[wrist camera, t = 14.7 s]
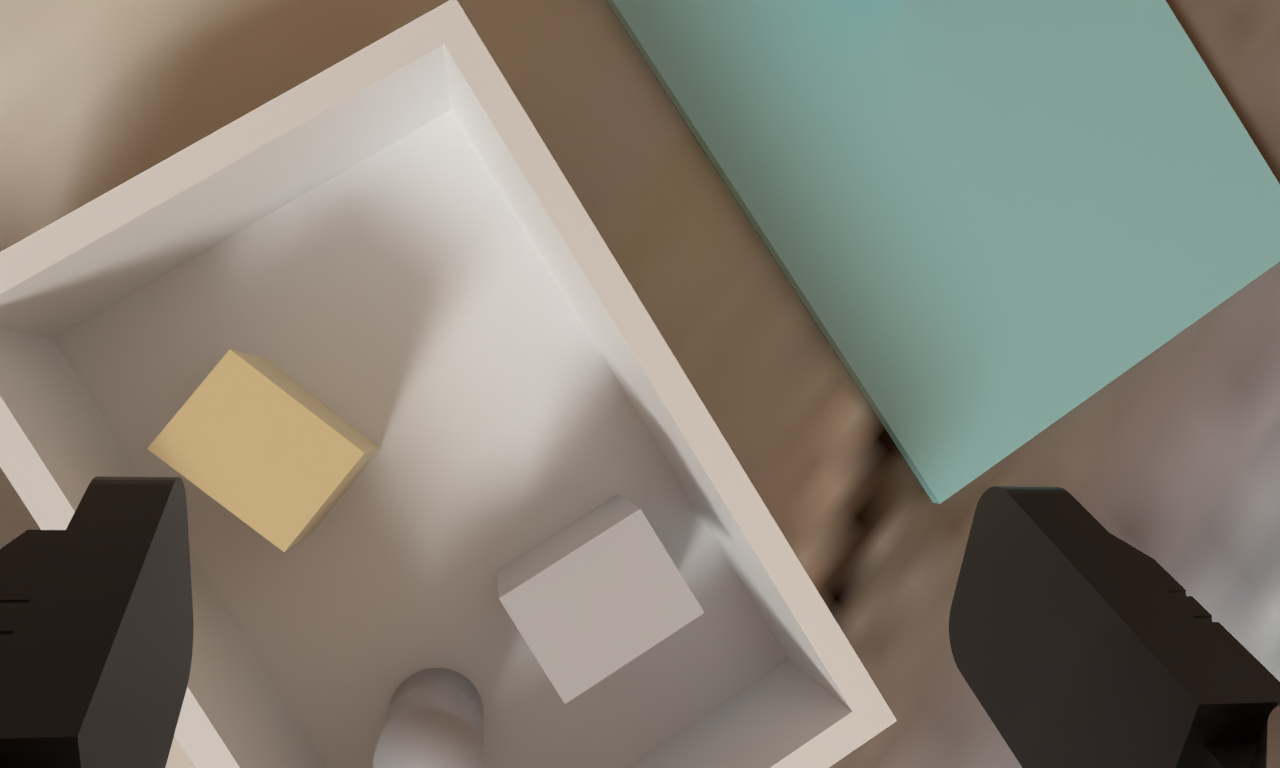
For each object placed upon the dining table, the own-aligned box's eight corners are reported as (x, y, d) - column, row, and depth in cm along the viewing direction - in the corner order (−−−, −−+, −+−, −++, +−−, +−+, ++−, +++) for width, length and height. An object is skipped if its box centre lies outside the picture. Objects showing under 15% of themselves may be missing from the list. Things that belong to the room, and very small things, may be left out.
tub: (23, 331, 32) (-102, 308, 25) (461, 81, 34) (455, -3, 27) (409, 931, 33) (388, 1068, 26) (815, 659, 35) (896, 721, 28)
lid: (552, -76, 35) (586, -326, 23) (945, -314, 37) (1164, -660, 25) (927, 501, 36) (1144, 545, 24) (1291, 242, 38) (1659, 164, 26)
